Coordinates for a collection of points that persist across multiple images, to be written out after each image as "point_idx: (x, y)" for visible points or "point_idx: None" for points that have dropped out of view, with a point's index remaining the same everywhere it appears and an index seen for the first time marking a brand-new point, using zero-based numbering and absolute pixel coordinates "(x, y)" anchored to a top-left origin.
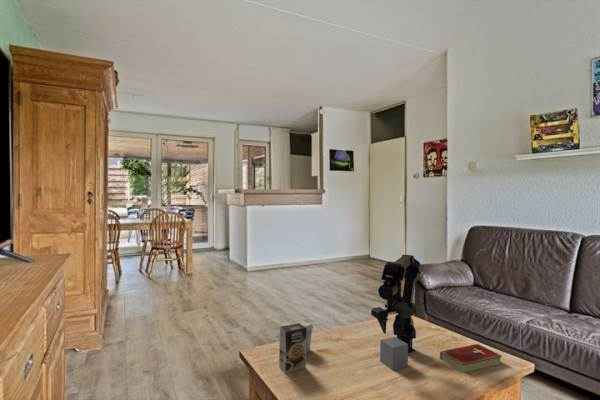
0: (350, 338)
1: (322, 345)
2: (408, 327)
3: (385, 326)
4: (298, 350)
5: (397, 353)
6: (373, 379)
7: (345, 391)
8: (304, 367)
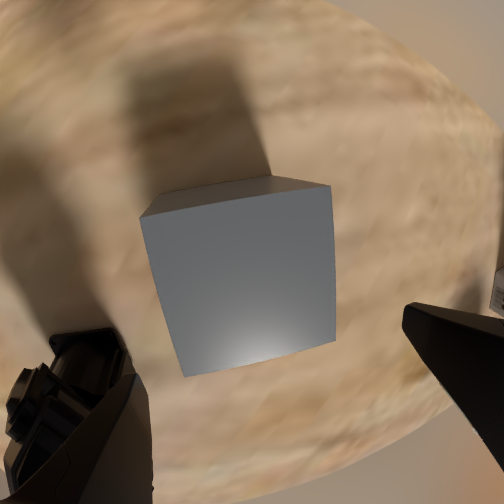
0: (290, 450)
1: (401, 401)
2: (46, 426)
3: (487, 325)
4: None
5: (259, 187)
6: (393, 134)
7: (477, 118)
8: (500, 271)
